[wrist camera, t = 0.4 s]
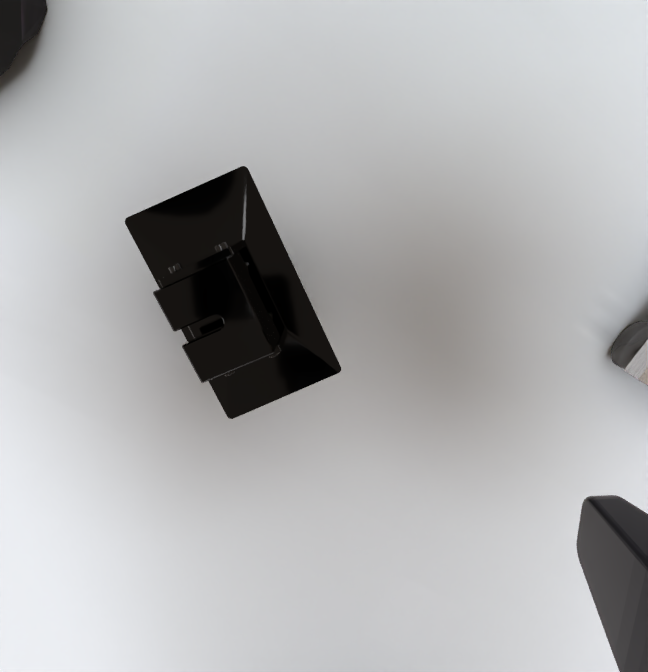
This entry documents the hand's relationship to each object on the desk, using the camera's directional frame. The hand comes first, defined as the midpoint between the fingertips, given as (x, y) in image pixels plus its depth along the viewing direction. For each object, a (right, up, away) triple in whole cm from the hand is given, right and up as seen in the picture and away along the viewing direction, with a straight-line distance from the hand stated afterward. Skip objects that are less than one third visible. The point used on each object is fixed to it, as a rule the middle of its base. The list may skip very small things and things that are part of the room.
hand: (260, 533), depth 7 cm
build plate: (-3, +5, +15) cm, 16 cm away
